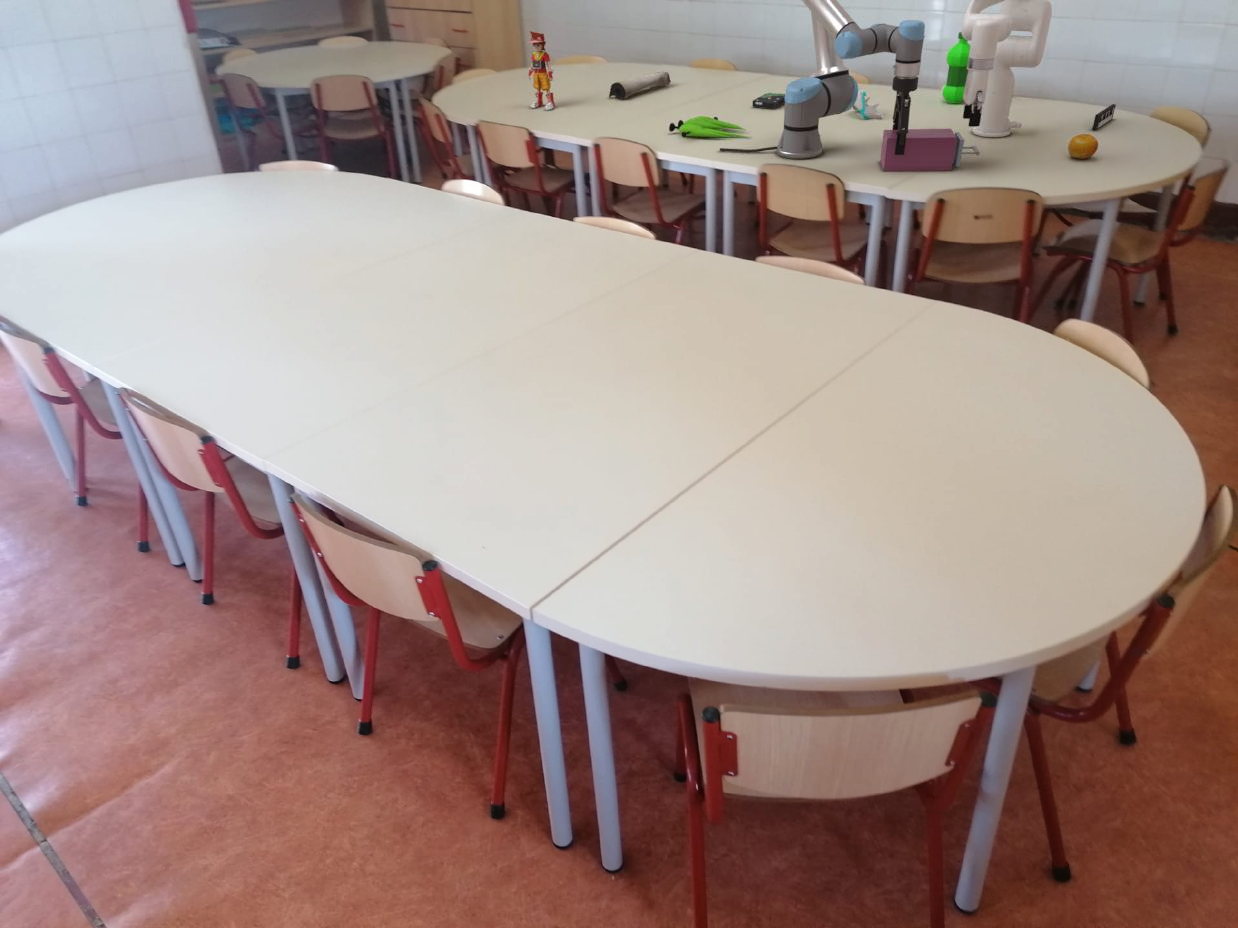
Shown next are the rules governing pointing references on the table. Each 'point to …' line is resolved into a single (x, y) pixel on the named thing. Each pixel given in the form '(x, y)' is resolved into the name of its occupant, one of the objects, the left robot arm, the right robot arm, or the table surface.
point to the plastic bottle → (957, 71)
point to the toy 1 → (541, 71)
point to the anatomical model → (865, 106)
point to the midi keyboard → (1103, 116)
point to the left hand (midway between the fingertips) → (897, 149)
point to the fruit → (1082, 146)
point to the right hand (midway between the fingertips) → (970, 122)
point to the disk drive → (769, 100)
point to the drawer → (960, 147)
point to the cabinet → (919, 150)
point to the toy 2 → (705, 127)
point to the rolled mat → (638, 84)
